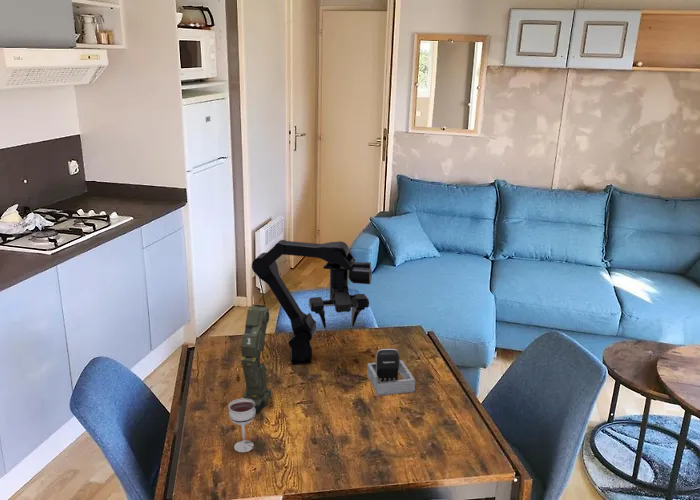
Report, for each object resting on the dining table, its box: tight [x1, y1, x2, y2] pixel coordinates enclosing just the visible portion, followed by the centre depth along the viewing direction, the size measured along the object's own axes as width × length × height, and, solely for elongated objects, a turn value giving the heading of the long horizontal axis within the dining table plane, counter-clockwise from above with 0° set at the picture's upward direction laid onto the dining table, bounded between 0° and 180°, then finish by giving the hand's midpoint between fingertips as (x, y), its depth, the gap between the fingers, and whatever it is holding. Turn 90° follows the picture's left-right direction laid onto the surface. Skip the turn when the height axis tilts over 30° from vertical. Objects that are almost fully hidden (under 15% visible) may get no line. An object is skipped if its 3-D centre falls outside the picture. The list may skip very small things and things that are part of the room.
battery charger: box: [375, 348, 400, 382], centre depth 181 cm, size 7×4×11 cm, turn 94°
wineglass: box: [228, 397, 257, 453], centre depth 150 cm, size 7×7×12 cm
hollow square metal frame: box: [366, 359, 416, 396], centre depth 183 cm, size 12×13×4 cm
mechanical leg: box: [240, 304, 272, 415], centre depth 169 cm, size 14×7×30 cm, turn 168°
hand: (338, 327), depth 191 cm, fingers open, 9 cm apart
